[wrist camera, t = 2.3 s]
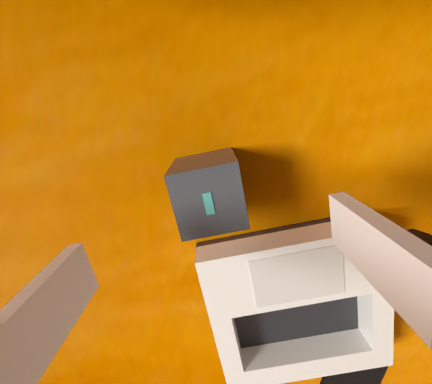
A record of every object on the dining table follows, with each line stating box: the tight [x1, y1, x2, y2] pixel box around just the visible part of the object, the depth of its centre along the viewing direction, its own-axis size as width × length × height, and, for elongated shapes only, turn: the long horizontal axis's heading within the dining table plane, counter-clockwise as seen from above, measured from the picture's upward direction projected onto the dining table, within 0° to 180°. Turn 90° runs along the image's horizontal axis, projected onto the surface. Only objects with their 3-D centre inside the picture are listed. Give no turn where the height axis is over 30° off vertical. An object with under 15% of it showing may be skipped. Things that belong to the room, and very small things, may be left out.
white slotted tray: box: [195, 218, 394, 384], centre depth 26 cm, size 16×17×4 cm
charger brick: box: [164, 147, 250, 242], centre depth 21 cm, size 5×5×6 cm
